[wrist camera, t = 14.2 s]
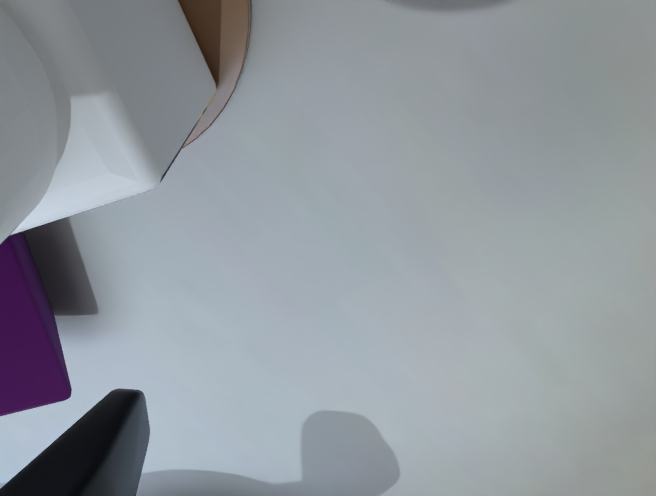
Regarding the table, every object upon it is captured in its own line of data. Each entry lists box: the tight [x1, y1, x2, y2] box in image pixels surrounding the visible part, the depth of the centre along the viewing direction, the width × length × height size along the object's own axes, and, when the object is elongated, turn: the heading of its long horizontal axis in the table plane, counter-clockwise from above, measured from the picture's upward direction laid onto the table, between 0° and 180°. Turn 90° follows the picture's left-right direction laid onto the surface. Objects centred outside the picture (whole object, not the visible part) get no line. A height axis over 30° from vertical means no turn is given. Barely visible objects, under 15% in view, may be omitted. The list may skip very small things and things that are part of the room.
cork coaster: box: [178, 0, 251, 148], centre depth 18 cm, size 11×11×1 cm
